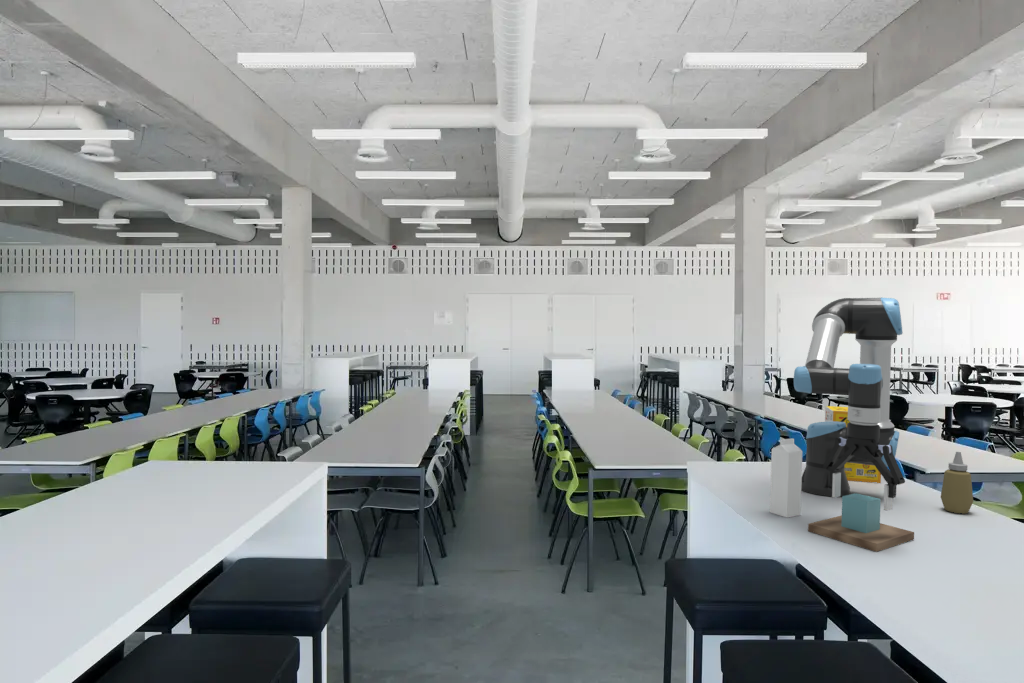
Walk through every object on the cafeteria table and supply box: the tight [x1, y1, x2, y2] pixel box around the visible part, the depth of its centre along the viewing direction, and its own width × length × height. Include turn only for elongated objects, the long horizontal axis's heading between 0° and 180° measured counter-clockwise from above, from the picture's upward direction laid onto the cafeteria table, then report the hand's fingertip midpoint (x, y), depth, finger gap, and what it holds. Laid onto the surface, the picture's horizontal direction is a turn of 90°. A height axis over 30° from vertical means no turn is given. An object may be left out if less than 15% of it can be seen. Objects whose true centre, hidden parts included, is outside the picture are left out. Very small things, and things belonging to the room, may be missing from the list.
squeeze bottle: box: [940, 451, 974, 515], centre depth 191 cm, size 8×8×18 cm
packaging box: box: [824, 405, 882, 484], centre depth 236 cm, size 16×16×25 cm
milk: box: [769, 437, 803, 519], centre depth 185 cm, size 6×6×22 cm
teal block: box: [841, 492, 881, 533], centre depth 167 cm, size 6×6×8 cm
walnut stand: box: [807, 514, 915, 553], centre depth 167 cm, size 18×18×8 cm
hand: (861, 503), depth 167 cm, fingers open, 13 cm apart
